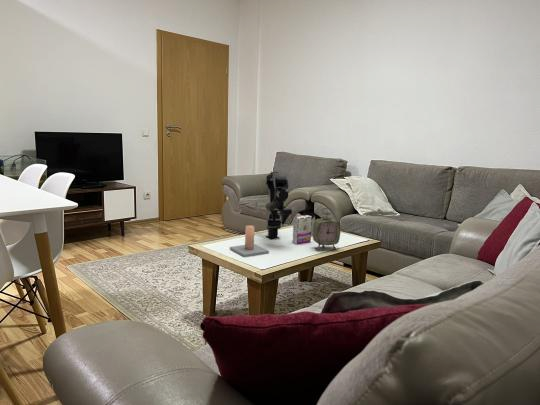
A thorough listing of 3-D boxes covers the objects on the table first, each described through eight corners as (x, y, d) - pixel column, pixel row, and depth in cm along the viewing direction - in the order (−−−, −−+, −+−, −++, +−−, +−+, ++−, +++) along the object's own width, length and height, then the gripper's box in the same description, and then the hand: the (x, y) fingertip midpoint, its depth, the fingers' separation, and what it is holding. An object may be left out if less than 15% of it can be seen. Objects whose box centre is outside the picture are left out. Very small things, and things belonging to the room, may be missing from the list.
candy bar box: (305, 240, 273) (307, 214, 270) (310, 242, 269) (312, 216, 266) (291, 242, 266) (293, 216, 263) (297, 244, 262) (298, 218, 259)
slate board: (229, 249, 246) (229, 246, 246) (253, 246, 255) (253, 243, 255) (244, 257, 233) (244, 254, 233) (268, 253, 242) (269, 250, 242)
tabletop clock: (316, 251, 250) (318, 209, 245) (310, 247, 258) (312, 206, 254) (339, 250, 254) (342, 208, 249) (332, 246, 262) (335, 205, 258)
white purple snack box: (312, 237, 281) (314, 214, 279) (291, 234, 286) (293, 212, 283) (315, 234, 290) (317, 212, 287) (295, 231, 294) (296, 209, 291)
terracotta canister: (244, 247, 246) (245, 225, 244) (253, 247, 247) (254, 225, 244) (244, 250, 241) (245, 227, 239) (253, 250, 242) (254, 227, 239)
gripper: (259, 195, 259) (258, 221, 262) (277, 201, 244) (276, 228, 247) (274, 194, 265) (273, 219, 268) (293, 199, 250) (291, 226, 253)
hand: (278, 223), depth 259 cm, fingers open, 9 cm apart
